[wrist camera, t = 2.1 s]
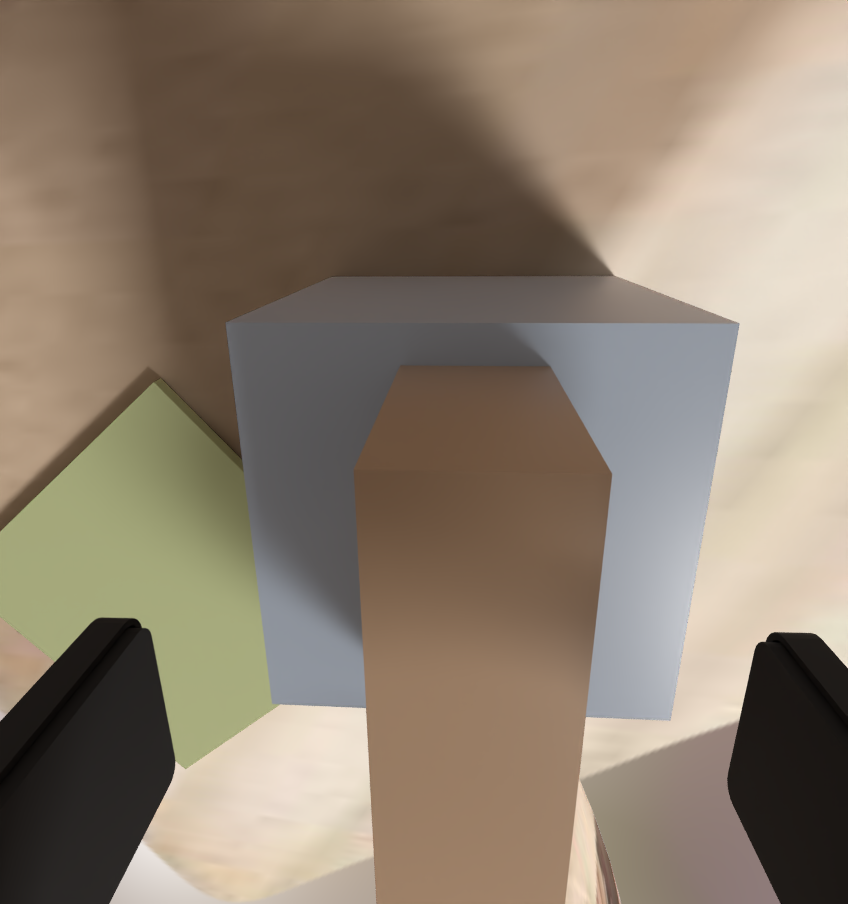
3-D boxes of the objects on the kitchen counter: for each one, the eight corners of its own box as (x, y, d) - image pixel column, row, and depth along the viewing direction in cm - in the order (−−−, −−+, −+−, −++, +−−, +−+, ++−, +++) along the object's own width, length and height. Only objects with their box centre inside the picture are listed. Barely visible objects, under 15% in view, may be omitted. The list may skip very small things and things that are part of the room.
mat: (161, 378, 24) (153, 382, 23) (397, 616, 27) (396, 625, 26) (-37, 570, 28) (-48, 578, 27) (190, 759, 31) (185, 769, 30)
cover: (614, 275, 21) (955, 405, 6) (589, 523, 25) (776, 979, 10) (332, 276, 22) (52, 397, 7) (346, 517, 25) (178, 939, 11)
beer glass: (491, 571, 26) (521, 983, 12) (597, 669, 27) (735, 1139, 13) (379, 660, 28) (293, 1101, 14) (484, 748, 29) (500, 1226, 15)
